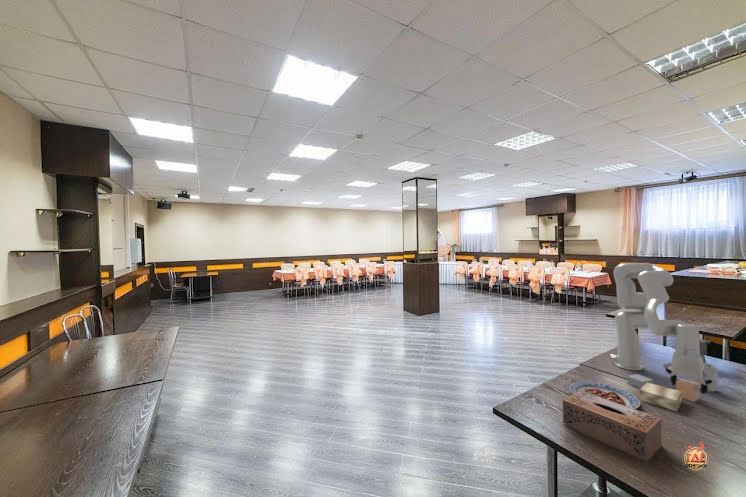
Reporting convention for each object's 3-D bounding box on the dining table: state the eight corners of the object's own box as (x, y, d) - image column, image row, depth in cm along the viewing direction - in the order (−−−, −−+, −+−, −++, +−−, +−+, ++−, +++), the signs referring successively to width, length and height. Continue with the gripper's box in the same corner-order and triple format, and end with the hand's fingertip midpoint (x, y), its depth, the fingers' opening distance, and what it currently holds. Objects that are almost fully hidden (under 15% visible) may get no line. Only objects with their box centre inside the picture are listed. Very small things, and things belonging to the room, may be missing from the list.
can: (722, 393, 141) (722, 367, 141) (703, 392, 143) (703, 366, 143) (708, 385, 149) (708, 361, 148) (690, 384, 150) (690, 360, 150)
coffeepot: (677, 364, 175) (677, 333, 174) (680, 360, 180) (680, 330, 180) (717, 373, 162) (717, 339, 162) (719, 368, 168) (719, 336, 168)
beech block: (639, 400, 137) (639, 389, 137) (646, 392, 144) (646, 382, 144) (676, 412, 127) (676, 400, 127) (682, 402, 135) (682, 391, 135)
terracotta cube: (675, 396, 140) (675, 381, 140) (681, 393, 143) (681, 378, 142) (694, 402, 134) (693, 386, 134) (699, 398, 137) (699, 383, 137)
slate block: (627, 383, 153) (627, 376, 153) (636, 381, 155) (636, 373, 155) (643, 390, 147) (643, 381, 146) (653, 387, 149) (653, 379, 149)
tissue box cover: (661, 446, 106) (661, 418, 106) (646, 463, 99) (646, 433, 99) (580, 413, 128) (579, 389, 128) (563, 424, 121) (562, 399, 120)
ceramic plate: (641, 397, 140) (641, 390, 140) (639, 422, 121) (639, 414, 121) (575, 381, 157) (575, 375, 157) (564, 400, 139) (564, 394, 138)
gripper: (659, 347, 144) (660, 383, 144) (711, 358, 129) (713, 398, 128) (666, 344, 147) (667, 380, 147) (718, 355, 132) (719, 394, 132)
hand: (688, 388), depth 138 cm, fingers open, 9 cm apart
